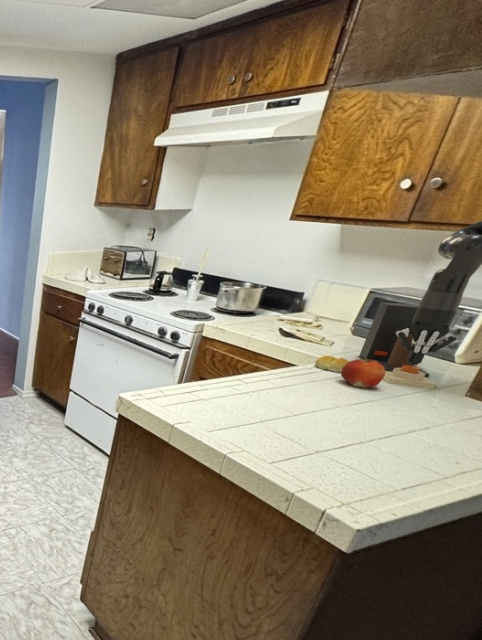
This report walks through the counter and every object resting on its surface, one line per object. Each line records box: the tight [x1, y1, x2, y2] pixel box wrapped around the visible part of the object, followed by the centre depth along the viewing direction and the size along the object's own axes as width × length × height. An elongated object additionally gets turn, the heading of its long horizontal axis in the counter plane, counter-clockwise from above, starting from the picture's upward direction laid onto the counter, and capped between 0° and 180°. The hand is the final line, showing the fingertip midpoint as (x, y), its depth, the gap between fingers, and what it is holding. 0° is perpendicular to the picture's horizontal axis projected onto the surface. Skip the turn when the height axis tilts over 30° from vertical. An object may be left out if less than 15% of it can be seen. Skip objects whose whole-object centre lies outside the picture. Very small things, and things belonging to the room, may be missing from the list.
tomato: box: [340, 358, 385, 389], centre depth 138 cm, size 9×9×8 cm
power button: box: [401, 365, 421, 374], centre depth 141 cm, size 4×4×2 cm
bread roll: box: [314, 355, 350, 373], centre depth 153 cm, size 8×9×4 cm
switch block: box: [382, 368, 436, 390], centre depth 142 cm, size 10×8×4 cm
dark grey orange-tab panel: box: [358, 301, 430, 379], centre depth 151 cm, size 17×12×20 cm
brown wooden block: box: [387, 333, 413, 368], centre depth 149 cm, size 8×6×12 cm
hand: (412, 364), depth 140 cm, fingers closed
